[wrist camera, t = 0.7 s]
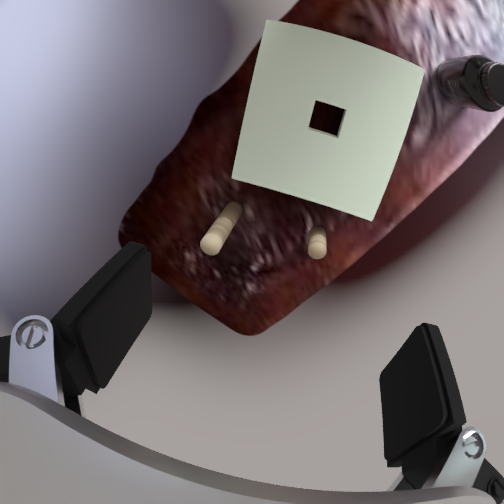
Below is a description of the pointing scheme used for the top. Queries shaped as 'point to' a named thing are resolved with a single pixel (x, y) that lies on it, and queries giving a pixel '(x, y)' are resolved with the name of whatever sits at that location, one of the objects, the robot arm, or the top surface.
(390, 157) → the plate
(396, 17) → the top surface
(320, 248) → the short birch pin
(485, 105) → the supplement bottle
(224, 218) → the long birch pin
